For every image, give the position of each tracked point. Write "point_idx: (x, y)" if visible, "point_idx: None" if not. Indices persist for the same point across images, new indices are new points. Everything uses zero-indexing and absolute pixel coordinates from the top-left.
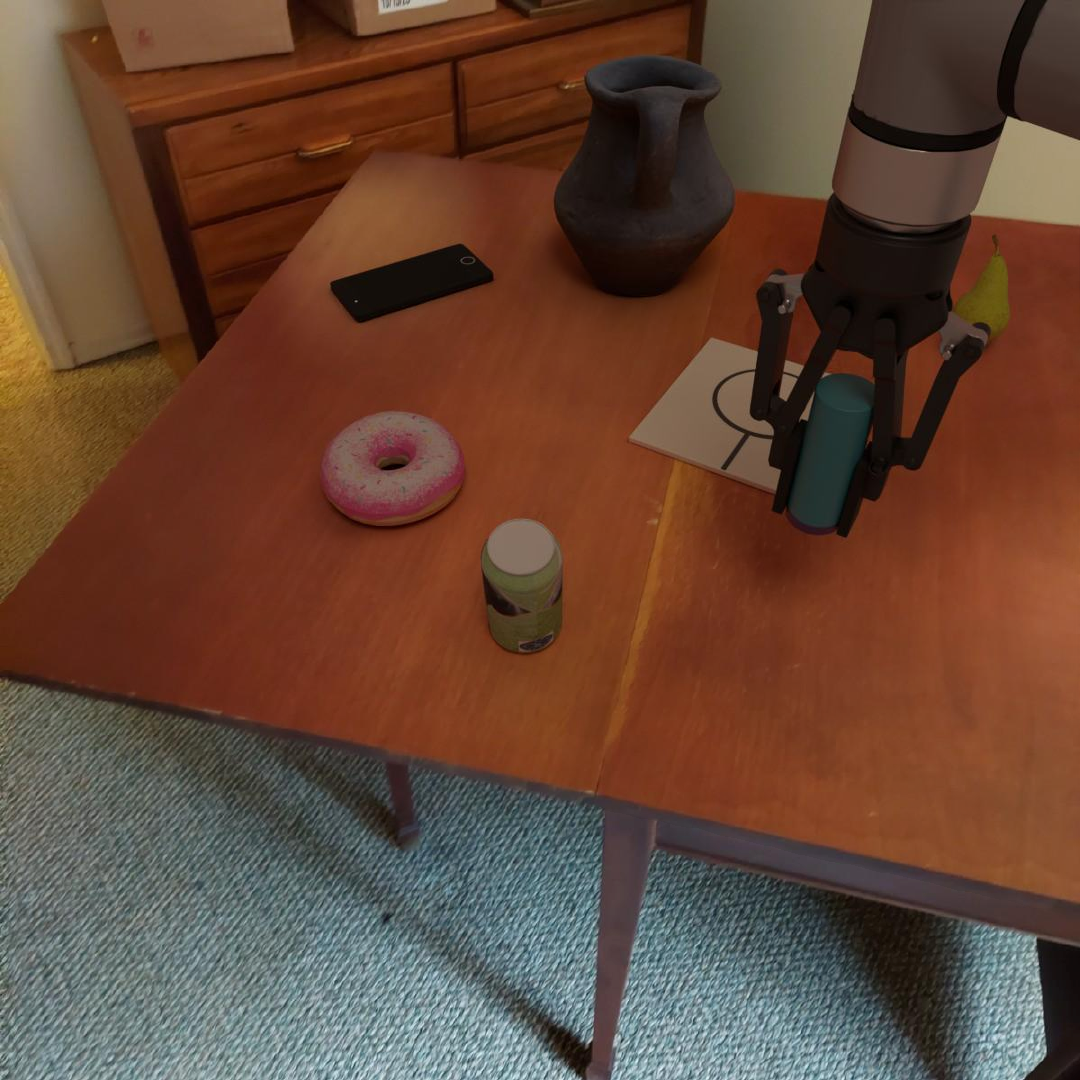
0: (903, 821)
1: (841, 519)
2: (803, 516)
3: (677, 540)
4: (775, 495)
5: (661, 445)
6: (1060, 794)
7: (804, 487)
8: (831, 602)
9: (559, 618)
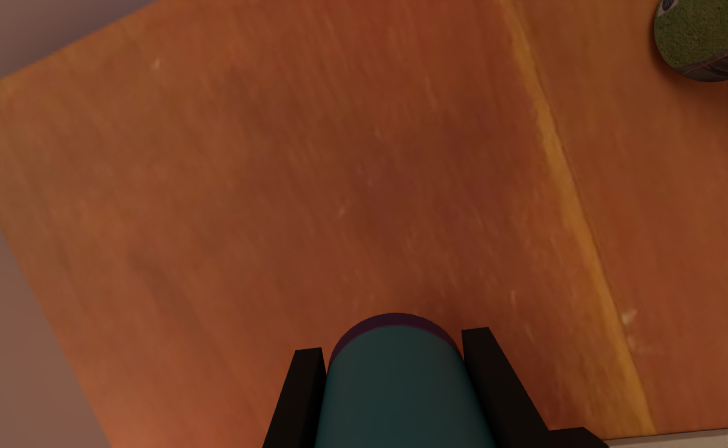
0: (123, 79)
1: (311, 378)
2: (404, 336)
3: (580, 306)
4: (504, 356)
5: (689, 444)
6: (12, 229)
7: (437, 400)
8: None
9: (682, 23)
